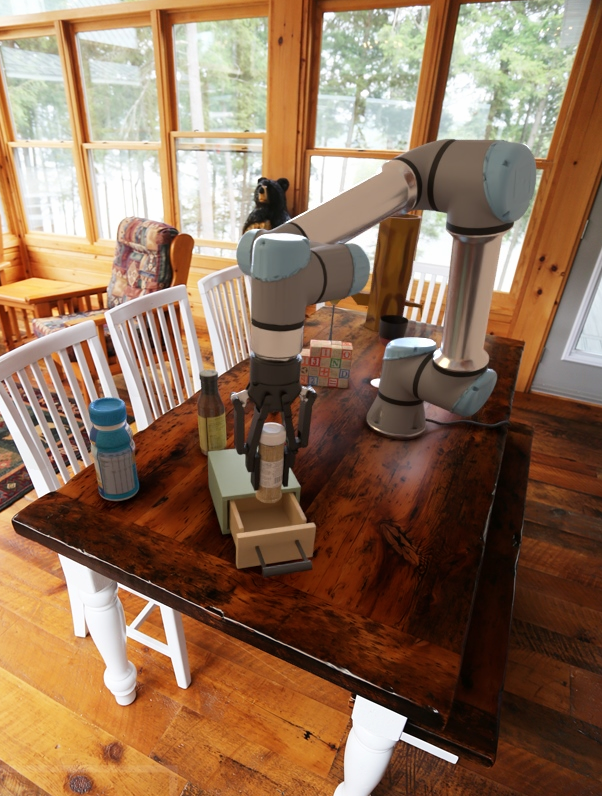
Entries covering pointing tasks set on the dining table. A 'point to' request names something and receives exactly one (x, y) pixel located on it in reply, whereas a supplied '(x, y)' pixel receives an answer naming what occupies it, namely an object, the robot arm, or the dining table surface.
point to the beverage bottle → (113, 449)
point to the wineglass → (390, 332)
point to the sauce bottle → (211, 414)
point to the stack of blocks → (326, 363)
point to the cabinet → (235, 482)
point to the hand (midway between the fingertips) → (269, 483)
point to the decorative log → (391, 269)
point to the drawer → (271, 534)
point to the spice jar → (271, 462)
